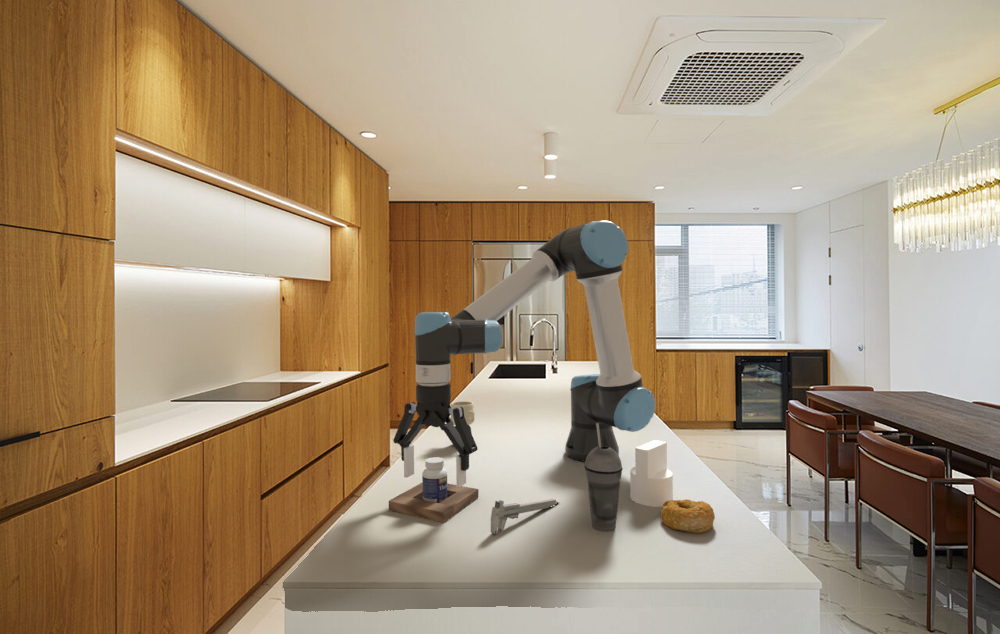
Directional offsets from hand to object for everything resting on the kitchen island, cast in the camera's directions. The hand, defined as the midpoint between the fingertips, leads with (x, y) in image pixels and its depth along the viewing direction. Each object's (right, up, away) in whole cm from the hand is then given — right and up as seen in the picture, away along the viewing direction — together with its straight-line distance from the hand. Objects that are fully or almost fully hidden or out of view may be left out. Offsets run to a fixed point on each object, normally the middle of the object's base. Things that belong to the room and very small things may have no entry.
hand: (434, 480), depth 108 cm
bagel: (+51, -5, -10) cm, 52 cm away
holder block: (0, -5, 0) cm, 5 cm away
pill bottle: (0, -5, 0) cm, 5 cm away
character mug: (+3, -4, +46) cm, 46 cm away
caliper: (+20, -6, -7) cm, 22 cm away
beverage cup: (+34, -5, -11) cm, 37 cm away
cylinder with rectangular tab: (+48, -5, +2) cm, 48 cm away
